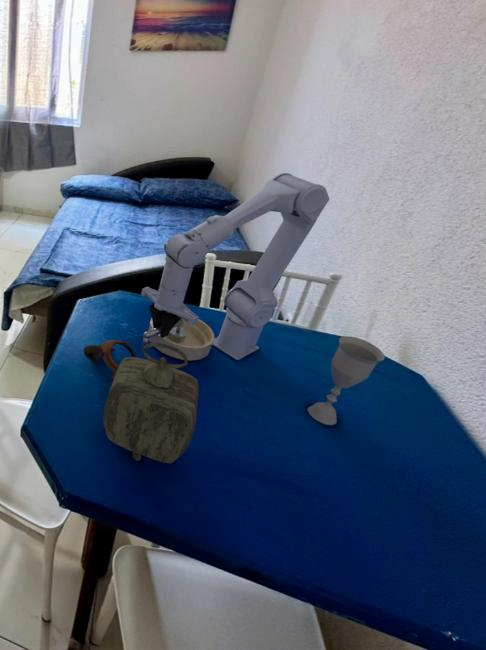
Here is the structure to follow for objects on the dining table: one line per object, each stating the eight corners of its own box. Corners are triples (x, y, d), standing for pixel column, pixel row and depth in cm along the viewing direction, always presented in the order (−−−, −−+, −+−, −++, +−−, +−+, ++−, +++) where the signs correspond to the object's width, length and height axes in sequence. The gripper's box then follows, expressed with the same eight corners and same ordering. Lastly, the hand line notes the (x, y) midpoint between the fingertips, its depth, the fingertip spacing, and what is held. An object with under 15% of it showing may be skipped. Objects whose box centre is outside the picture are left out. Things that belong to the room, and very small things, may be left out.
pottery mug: (120, 352, 102) (138, 339, 95) (123, 389, 96) (142, 378, 90) (76, 342, 100) (91, 328, 93) (76, 379, 95) (92, 367, 88)
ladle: (174, 330, 106) (179, 311, 104) (188, 339, 103) (194, 321, 100) (133, 347, 100) (138, 328, 97) (147, 358, 96) (152, 338, 93)
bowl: (172, 319, 115) (176, 305, 112) (222, 350, 103) (227, 336, 101) (134, 334, 108) (138, 321, 106) (182, 370, 96) (187, 355, 94)
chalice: (349, 432, 82) (393, 364, 73) (312, 426, 83) (351, 358, 74) (331, 404, 88) (370, 339, 79) (296, 399, 89) (331, 333, 80)
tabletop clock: (180, 447, 77) (218, 344, 65) (175, 487, 70) (216, 380, 58) (105, 418, 83) (127, 319, 71) (93, 453, 76) (115, 348, 64)
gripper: (137, 275, 96) (126, 322, 102) (189, 306, 85) (174, 356, 92) (157, 269, 99) (146, 314, 106) (210, 297, 88) (194, 346, 95)
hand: (160, 333), depth 99 cm, fingers closed on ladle
